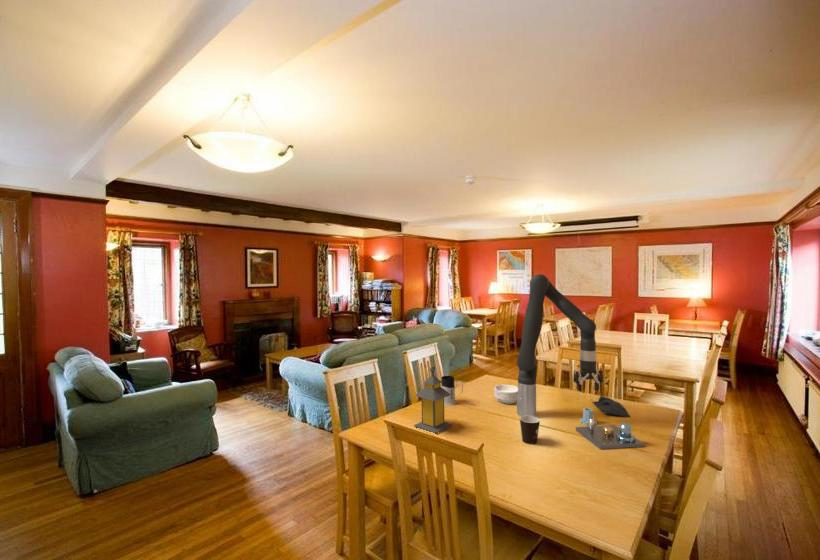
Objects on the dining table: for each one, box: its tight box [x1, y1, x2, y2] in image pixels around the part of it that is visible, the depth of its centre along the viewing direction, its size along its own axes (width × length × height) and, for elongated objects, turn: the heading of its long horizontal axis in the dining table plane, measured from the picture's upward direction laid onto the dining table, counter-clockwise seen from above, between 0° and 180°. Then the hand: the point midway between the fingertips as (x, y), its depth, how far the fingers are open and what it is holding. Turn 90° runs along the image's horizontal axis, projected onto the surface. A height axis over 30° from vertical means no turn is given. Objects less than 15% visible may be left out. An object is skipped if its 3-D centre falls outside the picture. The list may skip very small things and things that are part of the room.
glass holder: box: [440, 375, 464, 406], centre depth 223 cm, size 9×14×15 cm, turn 54°
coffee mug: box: [519, 416, 541, 445], centre depth 174 cm, size 12×9×10 cm
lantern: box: [414, 366, 453, 435], centre depth 191 cm, size 14×14×30 cm
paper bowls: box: [493, 384, 518, 405], centre depth 226 cm, size 15×15×8 cm
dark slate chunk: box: [592, 395, 632, 418], centre depth 211 cm, size 15×22×5 cm
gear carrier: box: [575, 418, 645, 450], centre depth 175 cm, size 20×20×8 cm
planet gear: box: [579, 407, 598, 426], centre depth 193 cm, size 8×8×7 cm
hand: (588, 391), depth 193 cm, fingers open, 8 cm apart
